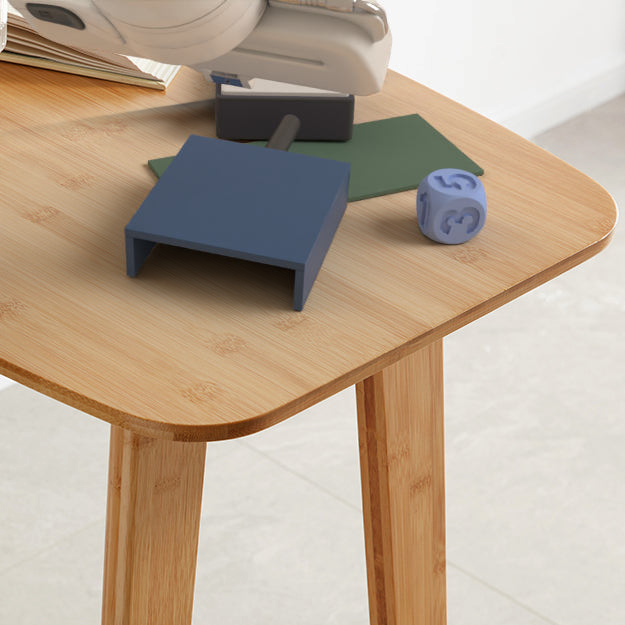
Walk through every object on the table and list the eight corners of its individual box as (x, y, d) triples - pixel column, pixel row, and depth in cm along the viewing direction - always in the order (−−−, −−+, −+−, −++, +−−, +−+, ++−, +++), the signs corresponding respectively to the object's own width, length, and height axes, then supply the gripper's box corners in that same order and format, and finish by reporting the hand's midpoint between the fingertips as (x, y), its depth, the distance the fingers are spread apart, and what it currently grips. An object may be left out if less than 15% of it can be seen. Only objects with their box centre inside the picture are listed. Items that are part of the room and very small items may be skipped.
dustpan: (305, 264, 71) (368, 124, 85) (123, 228, 73) (216, 97, 87) (301, 311, 73) (364, 167, 88) (126, 276, 75) (216, 140, 90)
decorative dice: (413, 217, 83) (419, 169, 81) (465, 213, 84) (472, 166, 82) (428, 246, 80) (435, 197, 78) (482, 243, 81) (490, 194, 78)
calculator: (339, 28, 101) (356, 90, 89) (337, 75, 104) (353, 141, 91) (216, 26, 100) (215, 87, 88) (216, 73, 103) (215, 139, 90)
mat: (197, 233, 80) (197, 228, 80) (147, 164, 87) (147, 160, 87) (483, 174, 89) (484, 170, 89) (416, 117, 96) (417, 113, 96)
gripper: (398, -59, 55) (410, 53, 68) (8, -118, 58) (93, 0, 72) (370, 63, 54) (387, 152, 68) (-25, -4, 57) (67, 94, 71)
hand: (233, 74), depth 70 cm, fingers closed
